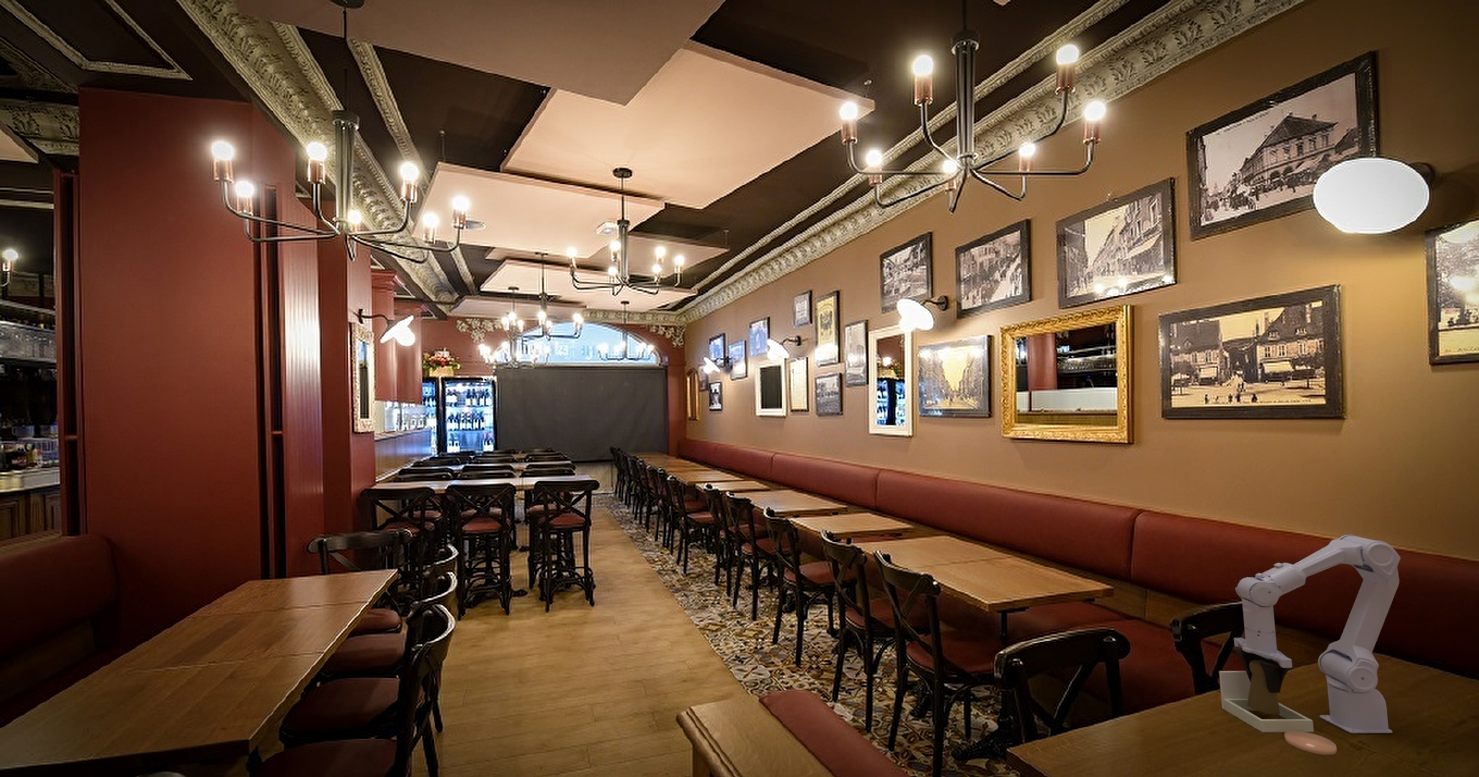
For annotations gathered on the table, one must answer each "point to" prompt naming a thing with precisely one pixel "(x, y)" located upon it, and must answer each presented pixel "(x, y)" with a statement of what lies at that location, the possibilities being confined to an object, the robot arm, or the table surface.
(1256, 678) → the brown tapered cylinder
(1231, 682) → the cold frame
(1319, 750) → the peach flat disc
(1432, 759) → the table surface
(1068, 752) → the table surface
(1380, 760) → the table surface
